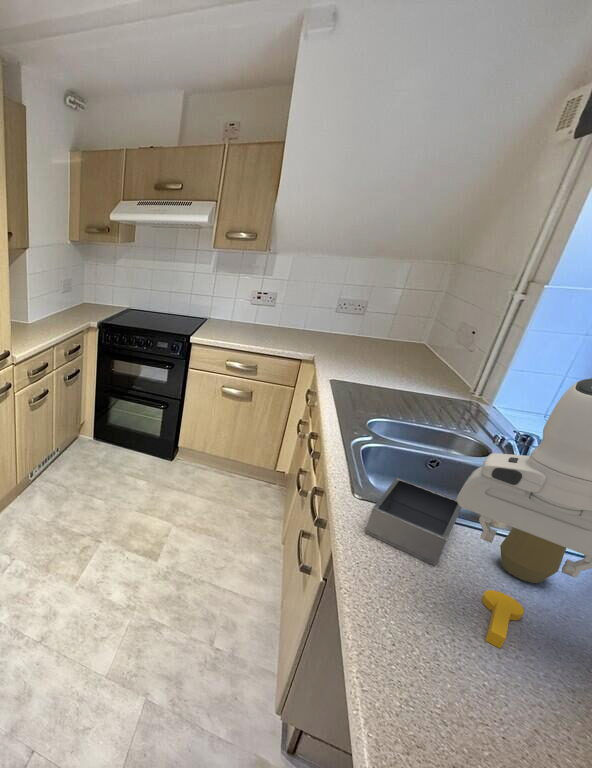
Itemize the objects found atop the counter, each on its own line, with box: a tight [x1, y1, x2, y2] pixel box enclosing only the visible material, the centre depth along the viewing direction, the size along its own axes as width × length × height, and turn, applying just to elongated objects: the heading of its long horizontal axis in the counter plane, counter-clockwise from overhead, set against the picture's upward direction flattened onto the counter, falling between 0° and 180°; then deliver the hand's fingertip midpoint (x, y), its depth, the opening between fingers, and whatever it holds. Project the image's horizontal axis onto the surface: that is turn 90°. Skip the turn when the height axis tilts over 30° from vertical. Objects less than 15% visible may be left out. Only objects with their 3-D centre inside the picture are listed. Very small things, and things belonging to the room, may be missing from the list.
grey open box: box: [364, 477, 463, 567], centre depth 92 cm, size 19×13×7 cm
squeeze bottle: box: [499, 527, 567, 584], centre depth 79 cm, size 8×8×18 cm
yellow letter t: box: [481, 589, 525, 649], centre depth 71 cm, size 5×14×2 cm, turn 131°
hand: (525, 555), depth 66 cm, fingers open, 8 cm apart
